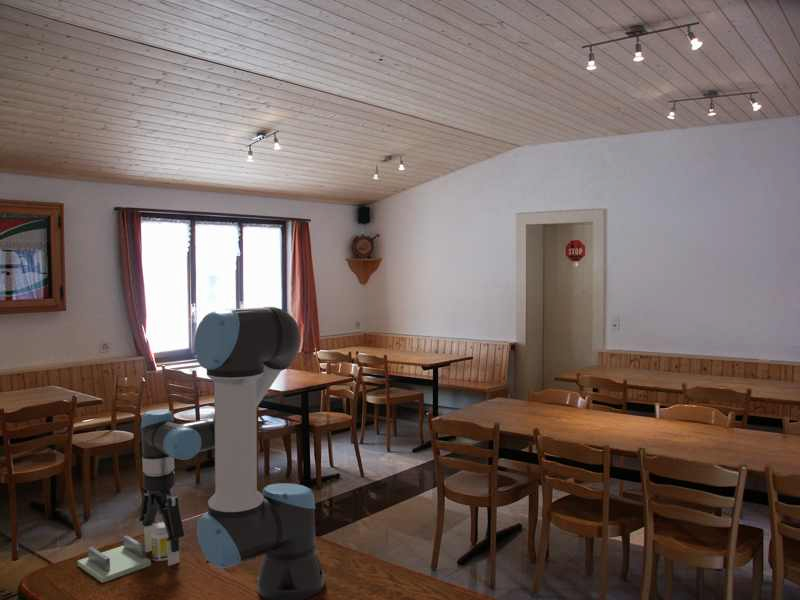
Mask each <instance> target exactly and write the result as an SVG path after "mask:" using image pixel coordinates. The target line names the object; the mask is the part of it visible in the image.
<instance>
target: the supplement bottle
mask: <svg viewBox="0 0 800 600" xmlns="http://www.w3.org/2000/svg"><path fill="white" fill-rule="evenodd" d="M154 524H155V525H153V530H152V531H153V533H152V535H151V542H152V551H151V558H152V560H153V561H154V562H164V561H168V554H167V540H166V539H168V538H169V536H168V533H167V530H166V527H165V524H164V521H162V522H157V523H154Z"/></svg>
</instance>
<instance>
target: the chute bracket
mask: <svg viewBox="0 0 800 600" xmlns="http://www.w3.org/2000/svg"><path fill="white" fill-rule="evenodd" d="M122 540H123V545H124V548H125V549H126V550H128V551H130V552H131V553H133V554H135V555H136V556H138V557H140V558H141V559H144V558H147V552H146V546H145V544H144V543H142V542H140V541H138V540H136V539H134V538H132V537H131V536H129V535H123V539H122ZM87 557H88V560H90V561H91V562H92V563H94V564H95V565H97V566H98V567H100V568H101V569H103V570H104V571H106V572H107V571H110V558H109V557H107V556H106V555H104V554H103V553H102V552H101V551H99V550H98V549H97V548H95V547H93V546H90V547H89V546H88V547H87Z"/></svg>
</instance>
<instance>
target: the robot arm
mask: <svg viewBox="0 0 800 600" xmlns="http://www.w3.org/2000/svg"><path fill="white" fill-rule="evenodd" d="M301 342H302V337H301V330H300V327H299V325H298V323H297V321H296V320H295V318H294V317H293V316H292V315H291V314H290V313H289V312H287V311H286V310H284V309H282V308H278V307H276V306H275V307H274V306H264V307H253V308H251V307H250V308H229V309H222V310H216V311H211V312H209V313H207V314H206V315H205V316H204V317H202V319H201V321H200V322H199V324H198V326H197V329H196V331H195V337H194V353H195V356H196V361H197V362H198V364H199V366H201V368H203V369H205V370H206V376H207V377H208V378H209V379H210V380H212V382H213V383H214V389H213V390H214V417H211V418H206V419H200V420H196V421H195V420H194V421H190V422H186V423H180V424H179V423H175V422H174V421H175V418H174V415H173V412H172V411H171V410H170V409H152V410H148V411H145V412H144V413H143V414H142V415H141V425H140V431H141V451H142V452H141V453H142V456H141V458H142V460H141V461H142V472H143V473H144V474H142V475H143V476H142V478H143V479H142V480H143V487H142V488H141V489H142V490H141V491H142V496H141V497H142V498H141V503H140V510H139V516H138V517H139V518H138V519H139V520H138V521H139V522H142V526H143V528H144V529H143V531H144V545H145V546H146V553H149V552H152V542H151V535H152V533H153V531H152V530H153V525H155V524H156V517H157V513H158V514H159V515H161V516H162V517H161V518H162V522H164V524H165V527H166V530H167V533H168V536H169V538H168V539H166V540H167V554H168V559H167V565H168V566H173V565H176V564H178V563H180V540H179V539H180V538H183V537H184V536H185V533H184V528H183V527H184V526H183V522H182V517H181V513H180V508H179V497H178V496H172V493H171V489H172V488H174V487H175V484H176V472H175V470H174V469H175V459H176V460H182V461H187V460H191V459H192V458H194V457H195V456H196V455H197V454H198V453H200V452H205V451H208V450H212V449H214V477H215V478H214V480H215V481H214V482H215V483H214V487H215V488H214V489H215V490H214V491H215V492H214V493H213V495H212V496H211V497H210V498H209V499H208V501H207V513H204V514H203V515H201V516H200V517H199V519H198V521H196V536H197V537H196V538H197V541H198V544H199V546H200V549H201V551H202V553H203V555H204V558H205V559H207V560H206V561H208V563H210V564H211V565H212V566H213V567H215V568H218V569H223V570H224V569H227V568H231V567H233V566H239V565H241V564H242V563H244V562H247V561H250V560H252V559H255V558H258V557H260V556H263V559H262V562H261V566H260V570H259V573H258V576H257V579H256V580H257V582H256V583H257V584H256V585H257V586H256V587H257V588H256V589H257V593H258V595H259V596H261V598H262V599H263V598H264V599H265V600H306V599H309V598H311V597H313V596H316V595H317V594H318V593H320V592H321V590H322V589H323V588H324V585H325V574H324V570H323V567H322V565H321V562H320V559H319V556H318V553H317V550H316V546H317V545H316V515H315V514H316V504H315V502H316V501H315V496H314V495H315V493H314V491H312V489H311V488H309V487H307V486H305V485H303V484H296V483H290V482H289V483H287V482H285V483H283V482H282V483H273V484H268V485H266V486H264V487H263V489H262V492H260V491H259V490H258V486H257V485H258V463H257V462H258V458H257V457H258V456H257V455H258V454H257V453H258V450H257V448H258V445H257V439H258V438H257V436H258V435H257V429H258V427H257V420H258V419H257V414H258V413H257V412H258V411H257V408H258V407H259V405H260V403H261V402H262V400H263V398H264V397H265V396H266V394H267V393H268V391H269V390H270V388H271V386H272V385H273V384H274V383H275V381H276V379H277V377H278V376H279V375H280V373H281V371H282V372H283V371H284V370H287V369H288V368H290V367H291V365H292V364H293V362H294V361H295V359H296V357H297V355H298V354H299V351H300V348H301Z"/></svg>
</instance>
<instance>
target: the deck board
mask: <svg viewBox="0 0 800 600" xmlns="http://www.w3.org/2000/svg"><path fill="white" fill-rule="evenodd" d="M101 553H103V554H104V555H106V556H107V557H109V558H110V571H107V572H106V571H104V570H103V569H101V568H100V567H98V566H97V565H95V564H94V563H92V562H91V561H90V560H88V556H86V557H84V558H82V559H78V560H77V566H78V567H80V568H81V569H82V570H83V571H85V572H86V573H87V574H89V575H91V577H93V578H95V579H96V580H97V581H99V582H100V583H101V584H103V583H106V582H109V581H112V580H115V579H117V578H119V577H123V576H126V575H129V574H131V573H134V572H136V571H139V570H142V569H144V568H147V567H150V566H152V561H151V559H149V558H148V557H146V558H144V559H141V558H140V557H138V556H136V555H135V554H133V553H131V552H130V551H128V550H126V549H125V548H124V544H123V545H121V546H118V547H115V548H112V549H109V550H105V551H102V552H101Z"/></svg>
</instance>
